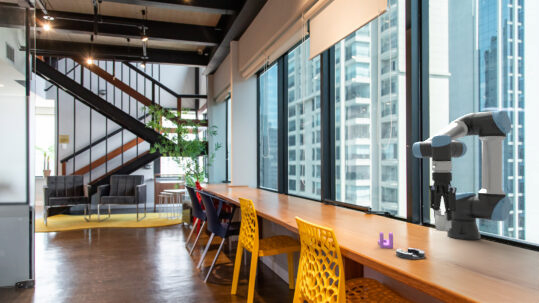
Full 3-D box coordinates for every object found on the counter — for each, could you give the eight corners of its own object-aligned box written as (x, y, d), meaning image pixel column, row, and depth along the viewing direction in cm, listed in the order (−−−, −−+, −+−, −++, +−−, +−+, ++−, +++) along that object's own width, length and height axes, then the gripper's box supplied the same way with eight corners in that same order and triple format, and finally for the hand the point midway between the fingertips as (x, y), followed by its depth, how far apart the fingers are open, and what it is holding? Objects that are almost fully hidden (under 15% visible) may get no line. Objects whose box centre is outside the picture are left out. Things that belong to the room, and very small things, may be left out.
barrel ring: (413, 251, 155) (413, 247, 155) (430, 258, 144) (430, 253, 144) (390, 253, 152) (390, 248, 152) (406, 260, 141) (406, 255, 141)
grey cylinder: (443, 228, 151) (443, 214, 151) (452, 230, 146) (451, 215, 146) (433, 229, 149) (433, 214, 150) (441, 231, 145) (441, 216, 145)
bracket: (393, 248, 161) (393, 233, 161) (380, 248, 162) (380, 232, 162) (389, 242, 173) (389, 228, 173) (377, 241, 174) (377, 227, 175)
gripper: (420, 171, 156) (421, 223, 155) (450, 172, 139) (451, 231, 138) (434, 170, 158) (435, 222, 157) (466, 172, 140) (467, 230, 140)
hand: (442, 226), depth 148 cm, fingers closed on grey cylinder, 5 cm apart
